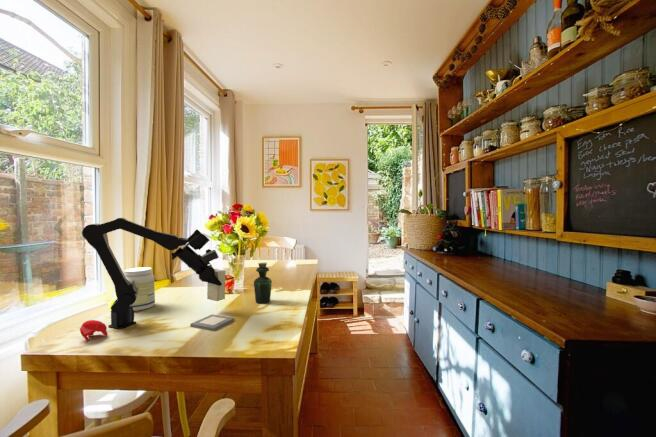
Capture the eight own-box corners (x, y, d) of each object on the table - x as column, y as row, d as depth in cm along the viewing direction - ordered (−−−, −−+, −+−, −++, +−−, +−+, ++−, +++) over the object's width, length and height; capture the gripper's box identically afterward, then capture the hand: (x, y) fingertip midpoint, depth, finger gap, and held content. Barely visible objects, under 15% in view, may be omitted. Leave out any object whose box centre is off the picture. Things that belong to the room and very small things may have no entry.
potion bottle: (251, 301, 146) (250, 263, 145) (267, 298, 150) (266, 261, 150) (258, 305, 139) (258, 265, 138) (274, 302, 144) (274, 263, 143)
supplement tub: (161, 303, 143) (160, 266, 142) (142, 312, 131) (141, 272, 130) (136, 302, 144) (135, 266, 143) (115, 311, 132) (114, 271, 131)
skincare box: (206, 299, 130) (206, 270, 130) (215, 296, 134) (215, 268, 134) (217, 301, 127) (217, 271, 127) (226, 298, 131) (225, 270, 131)
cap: (75, 334, 100) (95, 322, 102) (76, 323, 104) (95, 312, 106) (93, 348, 104) (111, 336, 106) (93, 336, 109) (111, 325, 111)
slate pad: (213, 330, 111) (213, 327, 111) (190, 326, 115) (190, 323, 115) (234, 320, 121) (234, 317, 121) (212, 316, 125) (211, 314, 125)
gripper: (208, 246, 120) (238, 272, 125) (203, 241, 137) (230, 264, 142) (186, 268, 117) (217, 294, 122) (184, 260, 133) (211, 283, 139)
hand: (219, 282), depth 131 cm, fingers closed on skincare box, 7 cm apart
